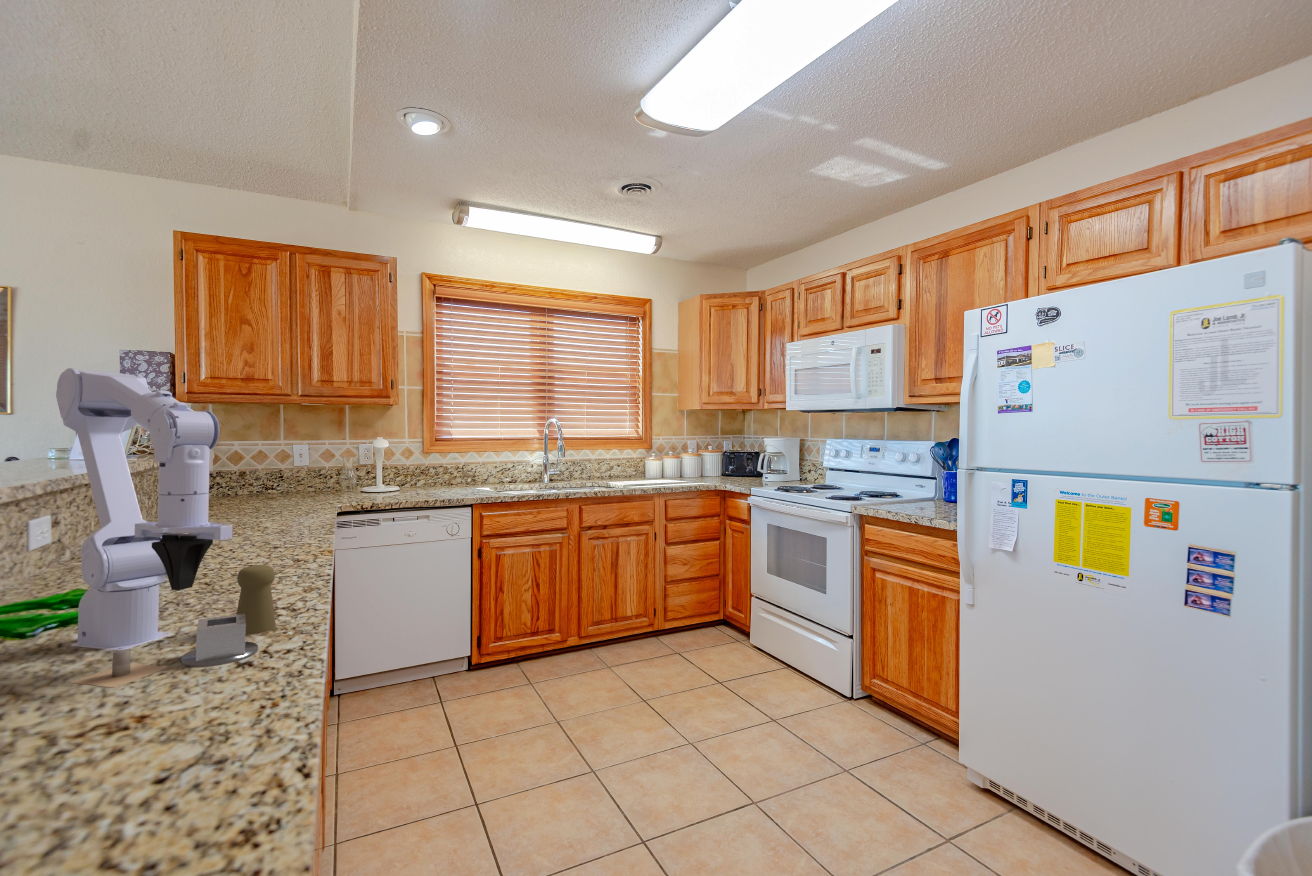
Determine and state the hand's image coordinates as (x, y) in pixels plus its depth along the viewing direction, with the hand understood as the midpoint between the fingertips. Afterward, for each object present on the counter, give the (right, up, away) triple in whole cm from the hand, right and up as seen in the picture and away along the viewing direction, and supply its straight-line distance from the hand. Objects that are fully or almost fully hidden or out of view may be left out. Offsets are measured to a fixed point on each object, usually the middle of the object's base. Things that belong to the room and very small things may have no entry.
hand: (182, 588), depth 85 cm
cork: (+2, -11, +13) cm, 17 cm away
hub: (+5, -11, +1) cm, 12 cm away
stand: (-3, -10, -7) cm, 13 cm away
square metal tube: (+5, -10, +1) cm, 11 cm away
